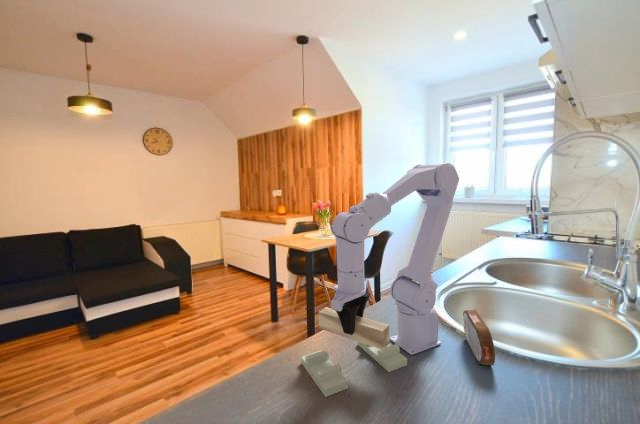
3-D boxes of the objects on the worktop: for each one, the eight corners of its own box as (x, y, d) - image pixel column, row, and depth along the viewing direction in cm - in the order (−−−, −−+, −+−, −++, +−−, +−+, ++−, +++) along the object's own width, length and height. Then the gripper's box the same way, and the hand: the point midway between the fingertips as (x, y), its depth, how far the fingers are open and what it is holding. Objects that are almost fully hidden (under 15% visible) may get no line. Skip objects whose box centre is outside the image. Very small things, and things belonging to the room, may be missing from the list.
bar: (326, 322, 72) (326, 307, 72) (389, 343, 63) (389, 324, 62) (319, 328, 70) (318, 311, 69) (383, 350, 60) (382, 331, 60)
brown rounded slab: (496, 374, 62) (497, 335, 61) (479, 372, 63) (480, 334, 62) (474, 335, 77) (474, 303, 75) (460, 334, 77) (461, 303, 76)
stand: (374, 339, 77) (374, 327, 76) (407, 365, 66) (407, 352, 66) (301, 363, 68) (300, 350, 68) (325, 397, 57) (324, 382, 57)
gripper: (348, 258, 73) (349, 311, 74) (317, 276, 60) (319, 340, 62) (376, 261, 69) (377, 317, 71) (349, 281, 57) (351, 349, 58)
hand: (352, 329), depth 66 cm, fingers closed on bar, 3 cm apart
